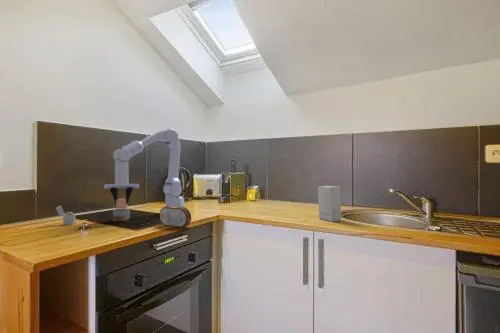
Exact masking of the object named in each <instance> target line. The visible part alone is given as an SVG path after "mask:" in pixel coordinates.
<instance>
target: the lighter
mask: <svg viewBox="0 0 500 333" xmlns="http://www.w3.org/2000/svg"><path fill="white" fill-rule="evenodd" d="M55 210H56V211H57V215H59V217H62V220H63V222H62V223H63V226H69V225H70V226H75V225H76V214H75V213H73V212H72V211H66V213H65V212H64V210H63V208H62V205H59V206H56V207H55Z"/></svg>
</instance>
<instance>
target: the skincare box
mask: <svg viewBox="0 0 500 333" xmlns="http://www.w3.org/2000/svg"><path fill="white" fill-rule="evenodd" d="M317 190H318V191H317V195H318V220H321V219H322V221H327V222H331V223H334V222H338V221H340V222H341V221H342V209H341V208H342V206H341V186H337V185H336V186H333V185H324V186H317Z"/></svg>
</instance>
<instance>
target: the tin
mask: <svg viewBox="0 0 500 333" xmlns="http://www.w3.org/2000/svg"><path fill="white" fill-rule="evenodd" d="M159 220H160V222H161V224H163V225H164V226H166V227H172V228H179V229H180V228H185V227H188V226H189V225H190V224H191V221H192V214H191V212H190V210H189V209H188V208H187V207H185V206H184V207H179V206H166V207H165V206H164V207H162V208H161V209H160V210H159Z"/></svg>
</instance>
